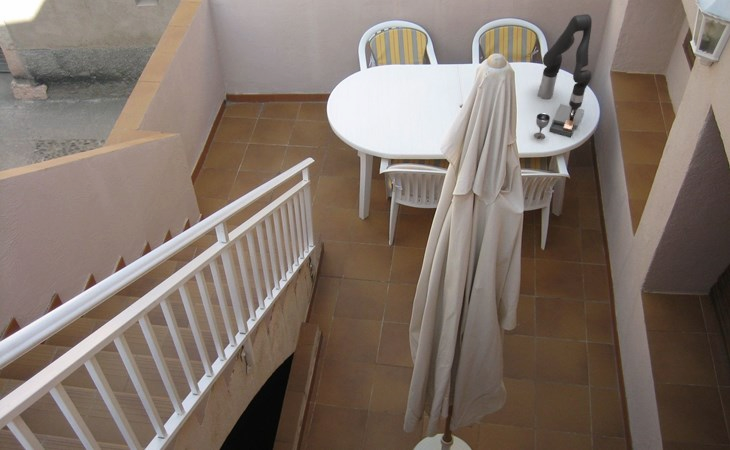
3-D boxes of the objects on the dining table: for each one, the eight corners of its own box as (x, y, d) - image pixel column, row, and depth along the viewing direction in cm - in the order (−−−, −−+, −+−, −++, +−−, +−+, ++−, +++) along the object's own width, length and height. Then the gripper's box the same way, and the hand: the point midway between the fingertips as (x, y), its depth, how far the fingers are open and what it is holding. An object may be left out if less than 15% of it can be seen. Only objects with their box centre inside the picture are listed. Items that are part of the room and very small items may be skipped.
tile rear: (563, 127, 441) (564, 126, 439) (566, 121, 442) (566, 119, 440) (571, 130, 439) (571, 128, 437) (574, 123, 441) (574, 121, 438)
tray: (549, 131, 441) (550, 127, 438) (552, 123, 446) (553, 119, 444) (570, 137, 436) (571, 133, 434) (574, 129, 442) (575, 125, 440)
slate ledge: (552, 123, 447) (552, 119, 445) (559, 107, 459) (560, 103, 457) (576, 129, 442) (577, 125, 440) (583, 113, 454) (584, 109, 452)
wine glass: (531, 132, 440) (535, 113, 430) (543, 131, 441) (547, 112, 430) (534, 140, 435) (538, 121, 424) (547, 139, 435) (551, 120, 424)
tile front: (564, 127, 441) (562, 131, 440) (564, 124, 436) (563, 127, 436) (571, 129, 439) (570, 133, 439) (572, 126, 435) (571, 129, 434)
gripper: (573, 91, 434) (567, 114, 447) (568, 103, 426) (562, 125, 438) (585, 94, 432) (579, 116, 444) (580, 106, 424) (574, 128, 436)
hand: (571, 121), depth 441 cm, fingers closed
